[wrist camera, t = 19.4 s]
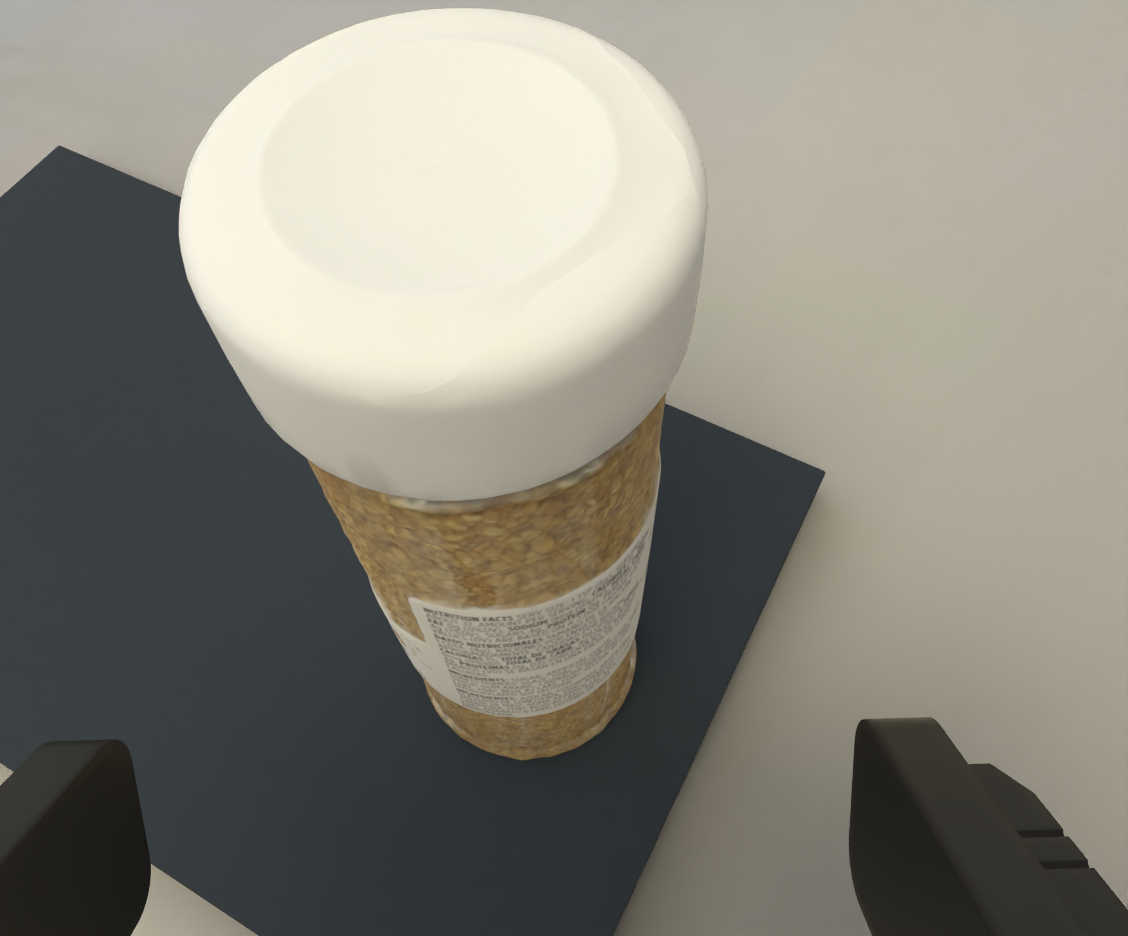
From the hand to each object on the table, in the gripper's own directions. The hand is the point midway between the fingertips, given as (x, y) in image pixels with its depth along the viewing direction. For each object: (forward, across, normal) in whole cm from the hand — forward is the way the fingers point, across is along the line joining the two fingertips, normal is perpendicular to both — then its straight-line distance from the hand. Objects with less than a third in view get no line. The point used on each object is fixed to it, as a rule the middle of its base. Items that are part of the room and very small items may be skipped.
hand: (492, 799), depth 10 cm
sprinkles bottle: (+9, 0, +3) cm, 9 cm away
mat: (+12, +7, +1) cm, 14 cm away
